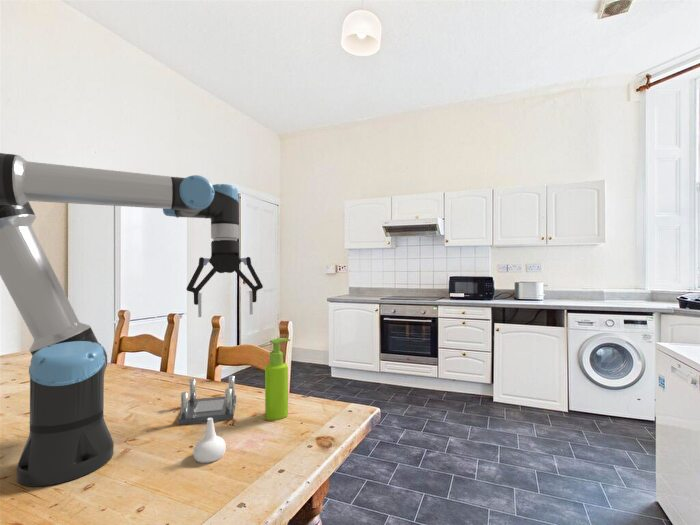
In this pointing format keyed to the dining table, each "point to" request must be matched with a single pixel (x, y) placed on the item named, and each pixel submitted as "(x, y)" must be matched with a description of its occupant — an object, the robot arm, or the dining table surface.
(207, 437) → the garlic bulb
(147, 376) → the dining table surface
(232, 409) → the display stand
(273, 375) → the soap dispenser
